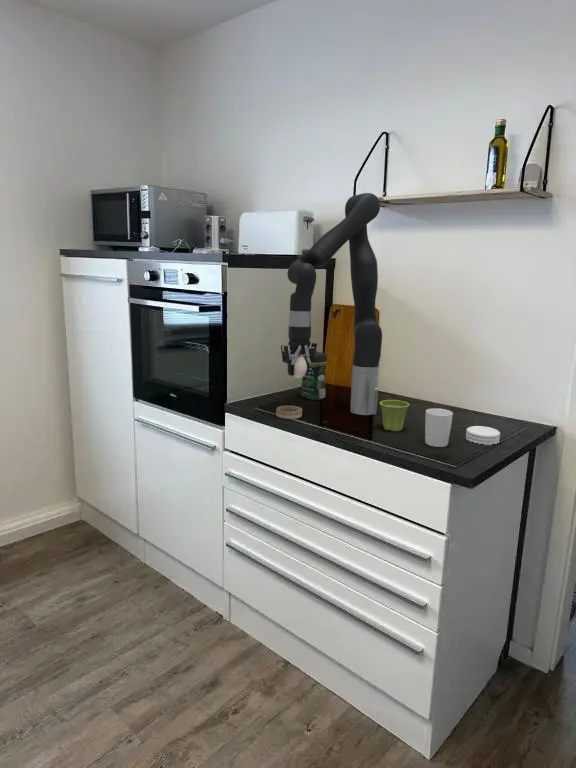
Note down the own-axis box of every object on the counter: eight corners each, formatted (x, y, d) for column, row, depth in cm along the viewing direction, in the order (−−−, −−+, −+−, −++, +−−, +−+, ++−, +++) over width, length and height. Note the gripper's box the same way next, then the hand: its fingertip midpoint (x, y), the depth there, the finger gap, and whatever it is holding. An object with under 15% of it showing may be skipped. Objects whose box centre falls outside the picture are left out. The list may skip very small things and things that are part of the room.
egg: (309, 378, 191) (310, 355, 189) (299, 380, 187) (300, 357, 185) (297, 375, 194) (298, 353, 193) (286, 377, 190) (287, 354, 189)
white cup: (418, 443, 171) (420, 411, 169) (432, 437, 177) (434, 407, 175) (441, 449, 166) (444, 417, 164) (454, 444, 171) (457, 412, 169)
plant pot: (385, 434, 179) (387, 407, 177) (373, 425, 188) (375, 400, 186) (412, 432, 182) (414, 406, 180) (399, 424, 191) (401, 399, 189)
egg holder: (302, 412, 202) (302, 406, 201) (300, 419, 193) (301, 413, 192) (277, 411, 202) (278, 405, 202) (275, 417, 194) (275, 411, 193)
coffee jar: (297, 396, 224) (298, 350, 220) (311, 393, 229) (313, 348, 225) (314, 401, 217) (315, 354, 213) (328, 398, 222) (330, 352, 218)
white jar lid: (476, 434, 183) (477, 423, 182) (505, 442, 176) (506, 431, 175) (459, 439, 176) (460, 429, 176) (488, 448, 169) (489, 437, 168)
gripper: (309, 322, 194) (307, 370, 198) (275, 324, 185) (274, 374, 189) (323, 324, 188) (321, 374, 192) (289, 326, 179) (288, 378, 183)
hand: (298, 374), depth 190 cm, fingers closed on egg, 5 cm apart
